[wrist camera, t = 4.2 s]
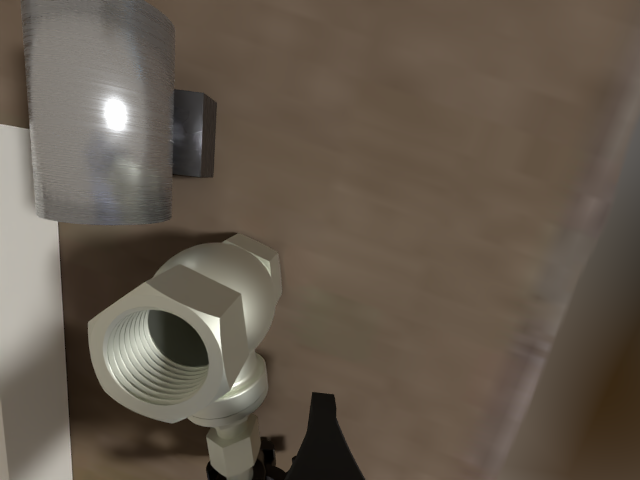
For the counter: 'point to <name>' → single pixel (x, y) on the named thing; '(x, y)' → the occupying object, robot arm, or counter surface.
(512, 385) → the counter surface
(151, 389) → the valve
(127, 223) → the pipe stubs
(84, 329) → the counter surface
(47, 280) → the bar
